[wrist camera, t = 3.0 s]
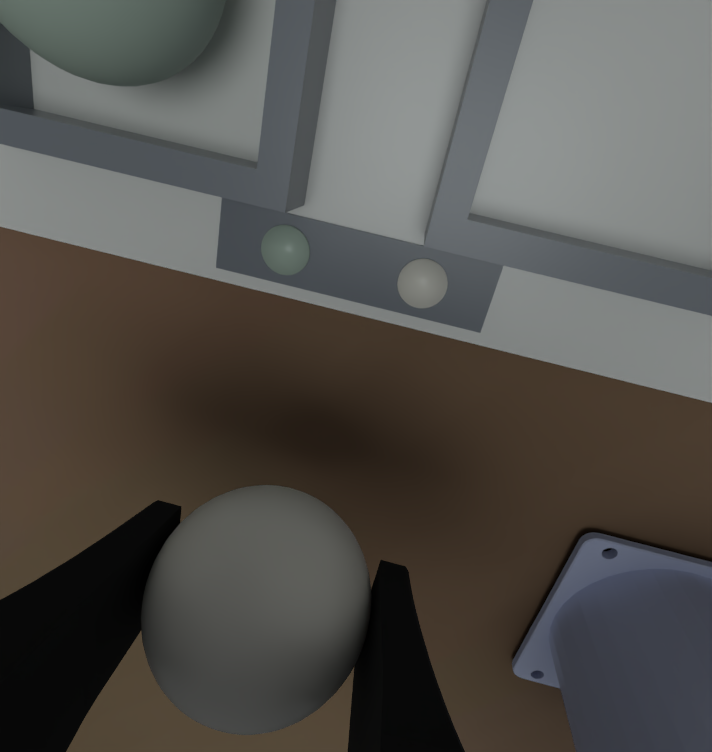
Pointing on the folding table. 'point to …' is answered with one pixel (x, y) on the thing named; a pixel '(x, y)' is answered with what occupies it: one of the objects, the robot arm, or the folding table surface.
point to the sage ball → (115, 35)
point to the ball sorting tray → (408, 170)
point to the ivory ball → (256, 609)
